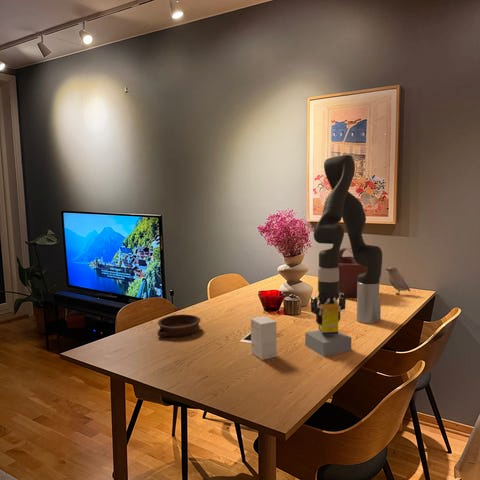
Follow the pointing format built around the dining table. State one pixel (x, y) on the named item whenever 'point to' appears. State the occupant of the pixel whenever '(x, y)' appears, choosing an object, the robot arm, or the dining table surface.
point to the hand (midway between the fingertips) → (328, 322)
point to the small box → (263, 337)
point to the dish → (178, 325)
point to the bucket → (349, 274)
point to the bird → (397, 280)
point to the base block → (327, 342)
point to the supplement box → (329, 319)
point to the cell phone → (247, 339)
